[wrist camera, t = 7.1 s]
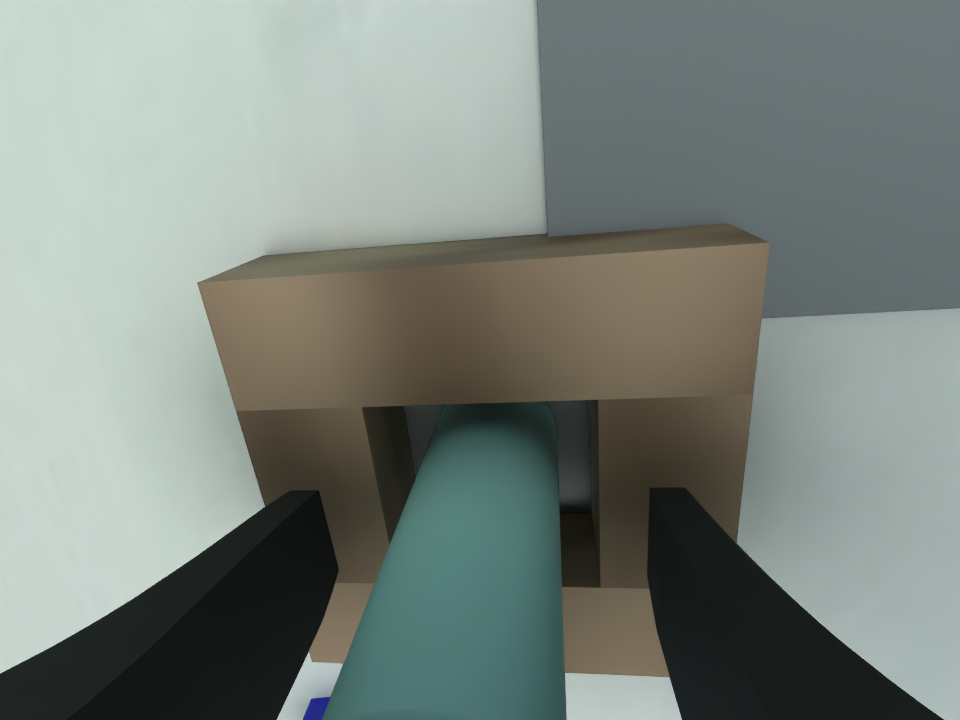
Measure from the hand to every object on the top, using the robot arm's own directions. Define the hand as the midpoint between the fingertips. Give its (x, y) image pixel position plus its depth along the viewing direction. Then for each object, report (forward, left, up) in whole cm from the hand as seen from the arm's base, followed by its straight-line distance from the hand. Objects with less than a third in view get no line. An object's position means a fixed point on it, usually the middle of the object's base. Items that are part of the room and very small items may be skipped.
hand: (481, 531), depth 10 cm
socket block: (0, 0, -3) cm, 3 cm away
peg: (0, 0, -3) cm, 3 cm away
